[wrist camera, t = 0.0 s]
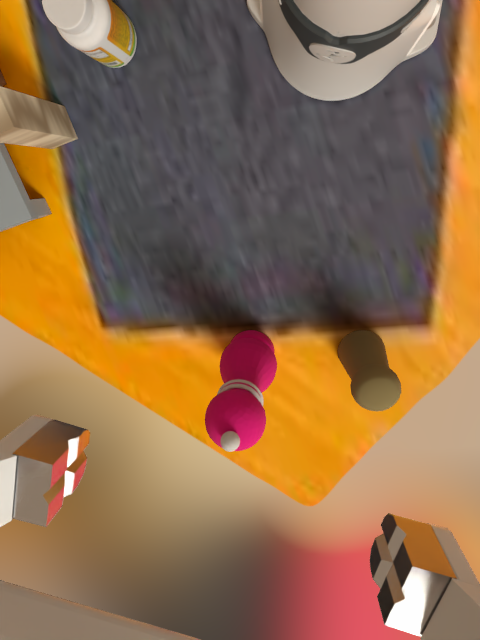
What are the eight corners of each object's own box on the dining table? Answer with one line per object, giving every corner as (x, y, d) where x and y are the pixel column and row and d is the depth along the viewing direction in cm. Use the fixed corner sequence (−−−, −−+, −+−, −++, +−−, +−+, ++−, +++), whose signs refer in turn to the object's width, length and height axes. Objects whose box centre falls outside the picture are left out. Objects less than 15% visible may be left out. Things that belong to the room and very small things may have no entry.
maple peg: (39, 117, 44) (-37, 99, 34) (64, 106, 44) (-6, 84, 33) (52, 148, 45) (-17, 140, 35) (77, 138, 45) (14, 127, 34)
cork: (331, 363, 51) (340, 410, 40) (347, 324, 48) (361, 363, 38) (374, 376, 50) (394, 427, 40) (392, 337, 48) (419, 380, 38)
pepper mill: (226, 324, 51) (188, 409, 32) (279, 328, 50) (272, 417, 31) (225, 371, 53) (189, 474, 35) (276, 375, 52) (267, 484, 34)
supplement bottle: (114, -4, 39) (60, -58, 30) (147, 43, 40) (106, 5, 31) (80, 35, 41) (20, -5, 32) (113, 80, 42) (64, 53, 33)
